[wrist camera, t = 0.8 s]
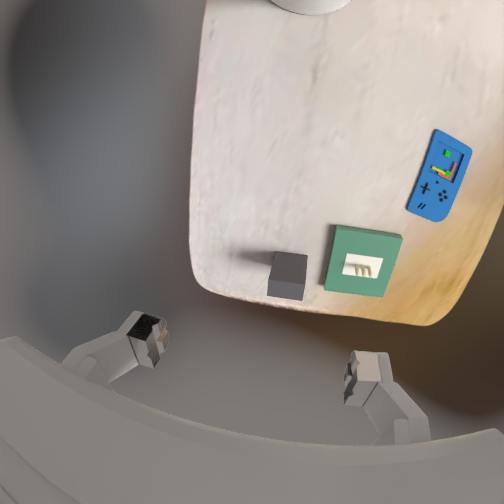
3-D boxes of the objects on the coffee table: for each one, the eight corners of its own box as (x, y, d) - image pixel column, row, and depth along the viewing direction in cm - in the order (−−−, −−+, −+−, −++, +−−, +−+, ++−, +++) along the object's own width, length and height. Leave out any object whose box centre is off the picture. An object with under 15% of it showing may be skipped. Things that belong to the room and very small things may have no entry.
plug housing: (275, 251, 50) (268, 279, 43) (307, 255, 49) (305, 284, 42) (274, 266, 52) (267, 295, 45) (305, 270, 51) (302, 300, 44)
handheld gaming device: (406, 211, 40) (437, 128, 32) (405, 208, 41) (434, 127, 32) (443, 226, 39) (474, 150, 31) (441, 223, 40) (471, 148, 32)
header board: (336, 224, 45) (337, 236, 41) (400, 234, 43) (406, 247, 39) (323, 285, 52) (323, 299, 48) (381, 292, 50) (384, 306, 46)
